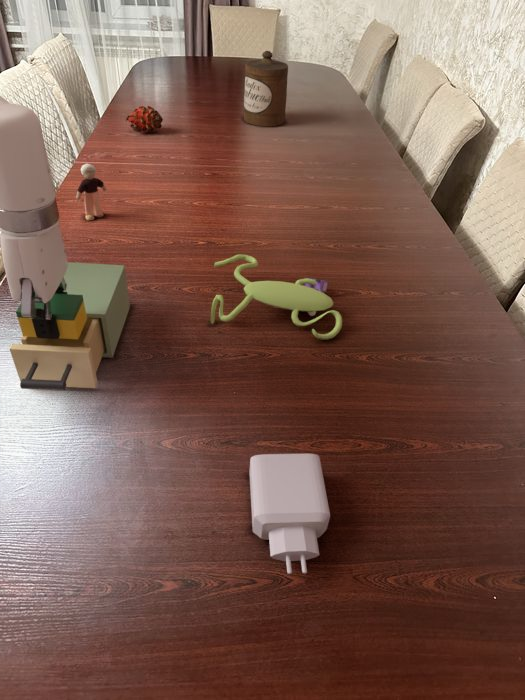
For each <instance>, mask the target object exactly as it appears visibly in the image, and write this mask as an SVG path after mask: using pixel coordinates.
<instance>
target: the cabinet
mask: <svg viewBox="0 0 525 700" xmlns="http://www.w3.org/2000/svg"><path fill="white" fill-rule="evenodd" d="M64 279H65V282H66V285H67V289H66V291H64V292H67V294H74V295H83V301H84V305H85V310H86V316H87V317H91V318H101V321H102V326H103V332H104V338H105V343H106V347H105V350H104V353H103V355H102V358H111V359H112V358H114V355H115V352H116V350H117V346H118V343H119V340H120V338H121V335H122V332H123V328H124V325H125V322H126V320H127V317H128V314H129V312H130V308H131V304H130V303H131V302H130V295H129V289H128V287H129V286H128V281H127V273H126V265H124V264H109V263H108V264H107V263H93V262H91V263H90V262H72V261H67V270H66V273H65V275H64Z"/></svg>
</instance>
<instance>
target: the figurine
mask: <svg viewBox="0 0 525 700" xmlns="http://www.w3.org/2000/svg"><path fill="white" fill-rule="evenodd" d="M237 261H245V262H249V263H242V264H240V265H237V266H236V268H235V269H234V272H233V276H234V278H235V279H236V280H237V281H238V282H240V283H241V285H243V286H244V287H243V292H244V293H245V295H246V296H245V297H244V299H243V300H242V301H241V302H240V303H239V304H238V305H237V306H236V307H235V308H234V309H233V310H232V311H231V312H230V313H228V314H226V315H225V314H224V296H223V295H222V294H216V295H215V296H214V298H213V300H212V303H211V309H210V310H211V311H210V324H211V325H214V323H215V321H216V312H217V306H218V304H219V302H220V304H219V309H218V310H219V311H218V317H219V319H220V321H221V322H224V323H229V322H230V321H232V320H234V319H235V318H236V317H237V316H238V315H239V314H240V313H241V312H242V311H244V310H245V309H246V308H247V306H249V304H250V303H251V301H253V300H254V301H257V302H259V303H261V304H262V305H263V304H264V305H266V306H269V307H272V308H273V309H281V310H288V311H291V316H290V317H291V320H292V323H293V324H294V325H295V326H297V327H306V326H309V325H312V324H314V323H316V322H317V321H319V320H321V319H322V318H323V317H324V316H325V315H327V314H331V315H333V316H334V318H335V325H334V327H333V329H332V330H331V331H329V332H327V333H319V332H317V331H316V330H315V329H314V328H312V329H311V334H312V335H313V336H314V337H315V338H316V339H317V340H321V341H325V340H330V339H333V338H335V337H336V336H337V335H338V334H339V333H340V331H341V329H342V326H343V318H342V315H341V313H340V312H339V311H337V310H335V309H332V310H328V309H331V308H332V307H333V306H334V301H333V299H332V297H330V296H329V295H327V294H325V293H327V289H328V286H329V280H322V279H317V278H312V277H308V276H306V277H305V278H300V279H297V280H296V281H295V283H294V282H287V281H281V280H259V281H250V280H248V279H247V278H245V276H243V275H241V273H242V272H243V271H245V270H252V269H255V268H257V267H258V266H259V262H258V260H257V259H256V258H255V257H253V256H250V255H248V254H241V253H240V254H236V255H233V256H231V257H229V258H227V259H224V260H220V261H215V262H214V265H213V268H214V269H217V268H222V267H224V266H227V265H231V264H233V263H235V262H237ZM325 310H328V311H326V312H324V313H322V314H320V315H319V316H316V314H317V312H321V311H325ZM299 312H307V314H308V315H309V316H310V317H313V316H316V317H315V318H313V319H311V320H308V321H306V322H305V321H304V322H303V321H301V320H300V319H299V317H298V316H299Z"/></svg>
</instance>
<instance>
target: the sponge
mask: <svg viewBox="0 0 525 700" xmlns="http://www.w3.org/2000/svg"><path fill="white" fill-rule="evenodd" d="M35 296H38V295H37V294H36V293H35ZM50 302H51V311H52V315H55V317H56V321H57V325H58V329H59V334H60V336H59V338H62V339H79V337H80V334H81V332H82V330H83V327H84V325H85V323H86V320H87V316H86V310H85V305H84V301H83V295H74V294H57V293H54V295H53V297H52V298H51V300H50ZM21 306H22V302H21V303H20V304H19V306H18V307H17V309H16V311H15V314H16V318H17V321H18V324H19V327H20V331H21V333H22V337H23V336H25V337H37V336H36V333H35V329H34V326H33V322H32V319H30V318H29V317H23V316H22V315H21ZM35 308H38V309H43V310H44V304H43V303H37V302H35Z"/></svg>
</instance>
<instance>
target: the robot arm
mask: <svg viewBox="0 0 525 700" xmlns="http://www.w3.org/2000/svg"><path fill="white" fill-rule="evenodd" d="M43 134H44V133H43V130H42V125H41V122H40V119H39V117H38V115H37V114H36V113H35V112H34V110H33V109H30V108H29V107H28V106H26V105H21V104H17V103H11V102H10V101H8V100H7V99H5V98H4V97H3V96H1V95H0V249H1V256H2V263H3V267H4V273H5V275H6V276H5V277H6V280H7V285H8V289H9V293H10V295H11V298H12V300H13V302H15V303H18V302H21V303H22V306H21V315H22V316H23V317H29V318H30V319H32V322H33V326H34V329H35V333H36V336H37V337H38V338H45V339H58V338H59V336H60V334H59V329H58V325H57V321H56V317H55V315H52V311H51V302H50V300H51V298H52V297H53V295H54V293H57V294H67V292H64V291H66V289H67V285H66V282H65V279H64V275H65V273H66V270H67V262H68V258H67V252H66V247H65V244H64V243H65V242H64V238H63V236H62V232H61V229H60V225H59V224H60V223H61V217H60V211H59V208H58V202H57V197H56V194H55V188H54V183H53V178H52V174H51V169H50V163H49V158H48V154H47V149H46V145H45V140H44V135H43ZM35 293H36V294H37V295H38V296H35ZM35 302H37V303H43V304H44V310H43V309H38V308H35Z"/></svg>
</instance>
